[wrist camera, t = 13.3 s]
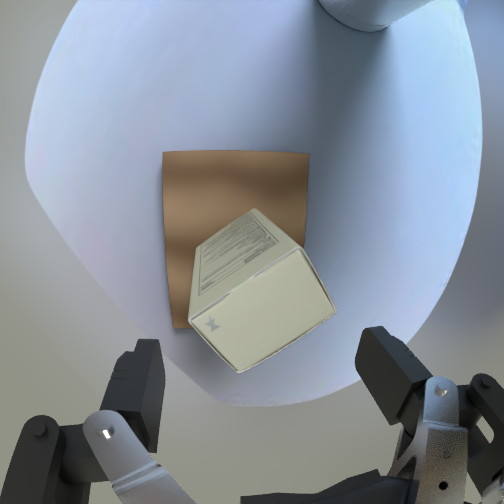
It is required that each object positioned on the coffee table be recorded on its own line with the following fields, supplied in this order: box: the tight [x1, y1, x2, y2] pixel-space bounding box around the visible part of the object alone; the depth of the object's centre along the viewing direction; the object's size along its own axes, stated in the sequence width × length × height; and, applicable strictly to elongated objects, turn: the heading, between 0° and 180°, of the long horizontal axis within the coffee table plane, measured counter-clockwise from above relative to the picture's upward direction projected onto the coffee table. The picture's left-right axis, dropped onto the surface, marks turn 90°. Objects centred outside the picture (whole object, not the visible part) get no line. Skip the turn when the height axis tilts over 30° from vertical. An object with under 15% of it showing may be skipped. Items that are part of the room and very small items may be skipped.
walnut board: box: [163, 150, 309, 328], centre depth 25 cm, size 16×12×2 cm
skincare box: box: [188, 208, 336, 373], centre depth 19 cm, size 6×4×12 cm
